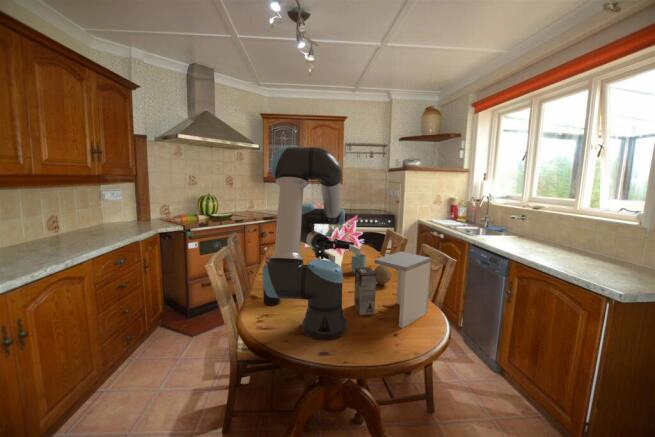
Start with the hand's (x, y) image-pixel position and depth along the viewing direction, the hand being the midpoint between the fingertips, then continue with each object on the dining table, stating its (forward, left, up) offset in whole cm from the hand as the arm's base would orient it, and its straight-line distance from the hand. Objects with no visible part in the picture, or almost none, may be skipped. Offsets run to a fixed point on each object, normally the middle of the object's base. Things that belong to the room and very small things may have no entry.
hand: (347, 255), depth 124 cm
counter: (+7, -22, -20) cm, 30 cm away
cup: (+33, +20, -20) cm, 43 cm away
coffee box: (0, -10, -20) cm, 22 cm away
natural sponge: (+28, +1, -20) cm, 34 cm away
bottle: (-23, +20, -20) cm, 37 cm away
